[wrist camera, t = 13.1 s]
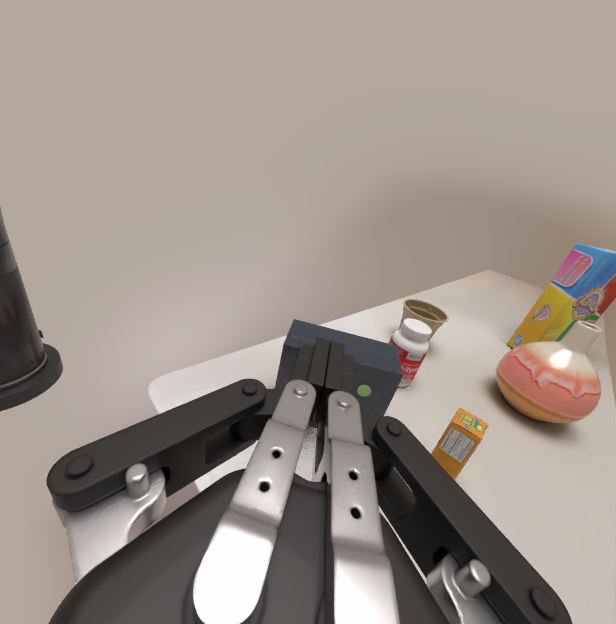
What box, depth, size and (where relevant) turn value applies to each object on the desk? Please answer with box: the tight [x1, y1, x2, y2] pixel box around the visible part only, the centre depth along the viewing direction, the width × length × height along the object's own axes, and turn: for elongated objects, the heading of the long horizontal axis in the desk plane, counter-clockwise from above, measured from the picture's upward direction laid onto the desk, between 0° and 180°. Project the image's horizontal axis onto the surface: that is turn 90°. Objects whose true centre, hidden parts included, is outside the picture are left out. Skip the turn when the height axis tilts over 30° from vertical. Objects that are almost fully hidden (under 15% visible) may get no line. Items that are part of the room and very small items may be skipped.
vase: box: [496, 321, 602, 423], centre depth 46 cm, size 14×14×18 cm
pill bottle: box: [389, 318, 432, 387], centre depth 47 cm, size 6×6×11 cm
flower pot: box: [399, 299, 448, 341], centre depth 60 cm, size 9×9×9 cm
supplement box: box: [431, 408, 488, 480], centre depth 32 cm, size 3×4×10 cm
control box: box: [275, 319, 403, 428], centre depth 36 cm, size 14×6×12 cm, turn 81°
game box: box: [507, 243, 616, 349], centre depth 67 cm, size 21×6×27 cm, turn 111°
